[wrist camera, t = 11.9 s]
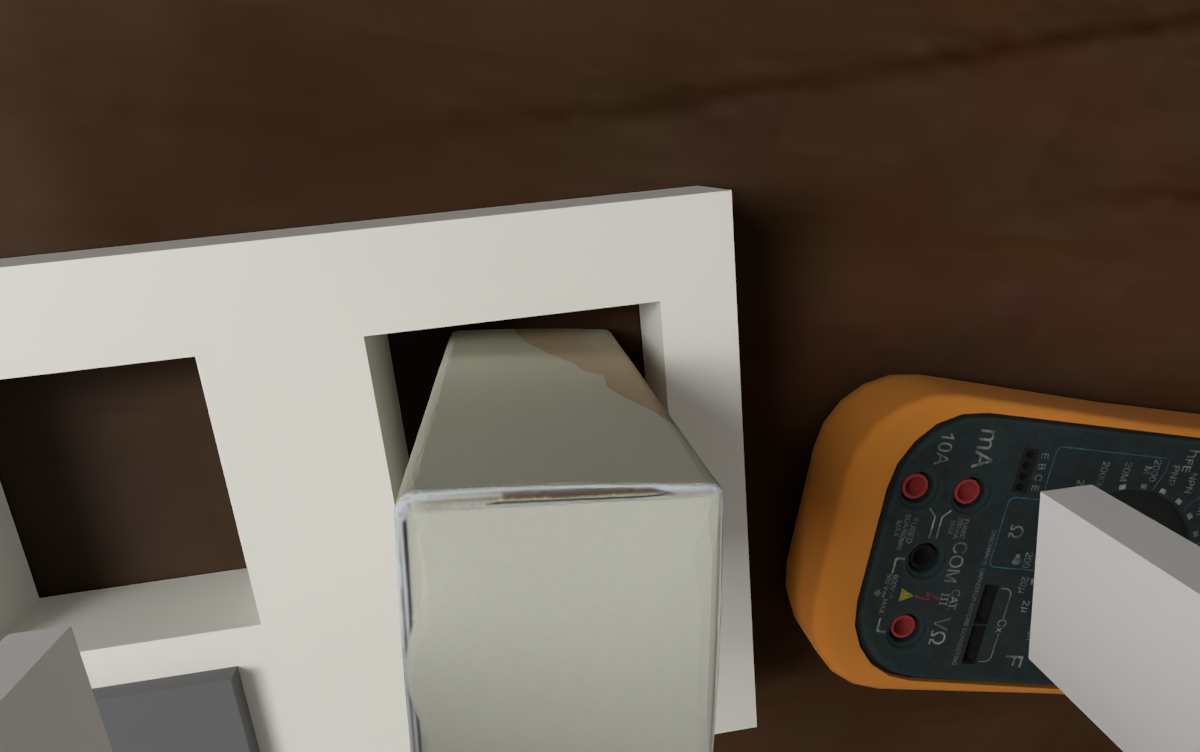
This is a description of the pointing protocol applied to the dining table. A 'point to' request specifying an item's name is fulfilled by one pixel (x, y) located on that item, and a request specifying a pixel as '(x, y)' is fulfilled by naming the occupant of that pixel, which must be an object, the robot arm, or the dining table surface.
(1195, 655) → the robot arm
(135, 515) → the dining table surface
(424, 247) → the socket board
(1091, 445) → the multimeter
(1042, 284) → the dining table surface
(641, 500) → the box
